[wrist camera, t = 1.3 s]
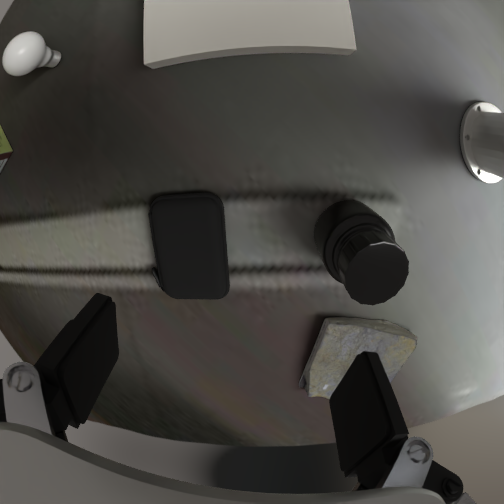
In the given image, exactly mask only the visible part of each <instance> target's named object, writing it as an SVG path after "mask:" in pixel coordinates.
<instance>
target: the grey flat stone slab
mask: <svg viewBox="0 0 504 504" xmlns="http://www.w3.org/2000/svg"><path fill="white" fill-rule="evenodd" d="M417 340H418V338H417V337H416V336H415V335H414V334H412V333H411V332H409V331H407V330H406V329H404V328H402V327H399V326H398V325H396V324H394V323H391V322H389V321H387V320H367V319H363V318H347V317H334V318H325V320H324V322H323V325H322V327H321V330H320V333H319V335H318V338H317V340H316V343H315V345H314V348H313V350H312V353H311V355H310V357H309V360H308V362H307V364H306V367H305V369H304V372H303V374H302V376H301V379H300V381H299V386H300V387H304V388H305V390H306V392H307V395H308V396H309V397H314V396H321V397H325V398H327V399H330V397H331V395H332V393H333V392H334V390H335V389H336V387H337V386H338V384H339V383H340V381H341V380H342V378H343V377H344V375H345V373H346V372H347V370H348V369H349V367H350V366H351V364H352V362H353V361H354V359H355V357H356V356H357V355H358V354H361V352H363V351H369V352H376V353H378V355H379V357H380V360H381V362H382V365H383V367H384V369H385V372H386V374H387V377H388V379H389V382H390V383H391V381H392V380H393V378H394V377H395V376H396V374H397V373H398V371H399V370H400V369H401V368H402V366H403V365H404V363H405V362H406V361H407V360H408V358H409V357H410V355H411V354H412V353H413V351H414V350H415V348H416V345H417Z"/></svg>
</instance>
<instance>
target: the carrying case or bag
mask: <svg viewBox="0 0 504 504" xmlns="http://www.w3.org/2000/svg"><path fill="white" fill-rule="evenodd" d="M148 215H149V220H150V227H151V233H152V240H153V246H154V252H155V258H156V263H157V269H158V272H157V270H156V268H154V267H153V269H152V273H153V275H154V277H155V279H156V281H157V283H158V285H159V287H161V289H162V290H163V291H165V293H166V294H167V295H169V296H170V297H172V298H175V299H221V298H223V297H225V296H226V295H227V293H228V292H229V288H230V282H229V270H228V257H227V244H226V230H225V215H224V206H223V203H222V201H221V199H220V198H219V197H218V196H217V195H215V194H213V193H209V192H205V193H188V194H173V195H162V196H159V197H158V198H156V199H155V200H154V201H153V202H152V204H151V206H150V212H149V214H148Z"/></svg>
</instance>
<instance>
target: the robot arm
mask: <svg viewBox="0 0 504 504" xmlns="http://www.w3.org/2000/svg"><path fill="white" fill-rule="evenodd" d="M460 143H461V150H462V155H463V158H464V160H465V163H466V165H467V167H468V169H469V170H470V172H471V173H472V174H473V175H474V176H475V177H476V178H477V179H479V180H480V181H483V182H485V183H496V182H498V181H500V180H501V179H502V178H504V113H502V112H501V111H500V110H499V109H498V108H497V107H496V106H495V105H493V104H491V103H488V102H477V103H474V104H472V105H471V106H470V107H469V108H468V109H467V110H466V112H465V114H464V116H463V119H462V122H461V129H460ZM118 356H119V348H118V337H117V323H116V305H115V302H112V298H111V297H109V296H106V295H103V294H100V293H96V294H95V295H94V296H93V297H92V298H91V300H90V301H89V302H88V303H87V304H86V305H85V307H84V308H83V309H82V310H81V311H80V312H79V314H78V315H77V316H76V317H75V318H74V320H70V321H69V322H68V323H67V324H66V325H65V327H64V328H63V329H62V330H61V331H60V333H59V334H58V335H57V336H56V338H55V339H54V340H53V341H52V343H51V344H50V345H49V347H48V348H47V349H46V350H45V352H44V353H43V354H42V356H41V357H40V358H39V360H38V361H37V362H36V364H35V365H34V366H32V365H31V364H29V363H26V362H17V363H14V364H12V365H10V366H9V367H8V368H7V369H6V370H5V372H4V374H3V379H0V504H476V503H475V502H474V500H473V499H472V498H471V497H470V496H469V495H468V494H467V493H466V492H465V493H463V483H462V481H461V479H460V478H459V477H458V476H457V475H456V474H454V473H453V472H451V471H449V470H447V469H446V468H444V467H443V466H441V465H440V464H438V463H436V462H435V461H433V460H432V459H433V450H432V448H431V445H430V444H429V443H428V442H427V441H426V440H425V439H423V438H421V437H411V438H409V439H408V436H407V435H408V434H409V432H408V429H407V427H406V424H405V421H404V418H403V416H402V413H401V410H400V407H399V405H398V402H397V399H396V397H395V394H394V392H393V389H392V387H391V384H390V382H389V379H388V377H387V374H386V372H385V369H384V367H383V365H382V362H381V360H380V357H379V355H378V353H376V352H369V351H363V352H361V354H358V355H357V356H356V357H355V359H354V361H353V362H352V364H351V366H350V367H349V369H348V370H347V372H346V373H345V375H344V377H343V378H342V380H341V381H340V383H339V384H338V386H337V387H336V389H335V390H334V392H333V393H332V395H331V397H330V402H329V403H330V409H331V414H332V420H333V425H334V431H335V437H336V443H337V449H338V455H339V461H340V467H341V470H342V471H344V473H345V477H356V476H357V477H358V483H357V484H356V486H355V487H354V489H353V490H352V491H351V492H340V493H324V494H273V493H257V492H245V491H236V490H228V489H221V488H215V487H209V486H203V485H198V484H192V483H188V482H183V481H179V480H175V479H170V478H166V477H162V476H159V475H155V474H152V473H148V472H145V471H141V470H138V469H135V468H132V467H129V466H126V465H123V464H121V463H118V462H115V461H112V460H110V459H107V458H104V457H102V456H99V455H97V454H94V453H92V452H89V451H87V450H85V449H82V448H80V447H78V446H75V445H73V444H71V443H69V442H68V440H67V436H66V433H65V430H66V429H67V427H68V425H71V426H73V427H75V428H77V429H78V427H79V425H80V423H82V424H84V423H85V422H86V420H87V418H88V416H89V414H90V412H91V410H92V408H93V406H94V404H95V402H96V400H97V398H98V396H99V394H100V392H101V390H102V388H103V386H104V384H105V382H106V380H107V378H108V377H109V375H110V373H111V371H112V369H113V367H114V365H115V363H116V362H117V359H118Z"/></svg>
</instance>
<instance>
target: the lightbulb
mask: <svg viewBox="0 0 504 504" xmlns="http://www.w3.org/2000/svg"><path fill="white" fill-rule="evenodd" d="M60 59H61V53H60V52H59V51H55V50H51V49H50V48H49V47H48V46H46V44H45V41H44V39H43V37H42V36H41V35H40V34H38V33H36V32H32V31H29V32H24V33H21V34H19V35H17V36H16V37H15V38H13V39H12V40H11V41H10V43H9V44H8V45H7V47H6V49H5V51H4V54H3V59H2V63H3V67H4V69H5V71H6V72H7V73H8V74H10V75H12V76H22V75H25V74H28V73H30V72H31V71H33V70H34V69H35V68H39V67H43V66H45V67H55V66H56V65H57V64H58V63H59V61H60Z"/></svg>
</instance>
